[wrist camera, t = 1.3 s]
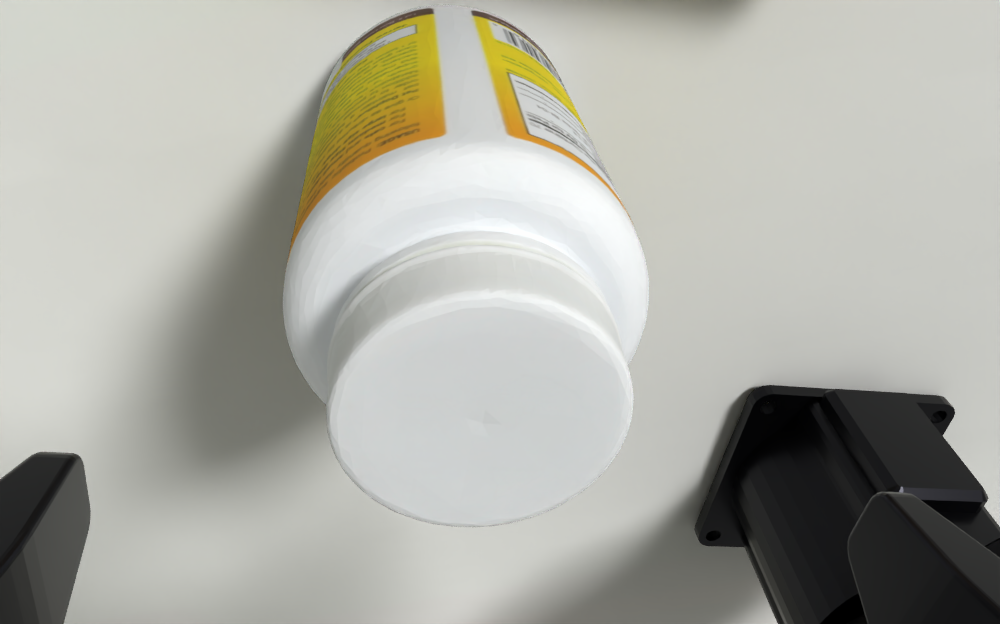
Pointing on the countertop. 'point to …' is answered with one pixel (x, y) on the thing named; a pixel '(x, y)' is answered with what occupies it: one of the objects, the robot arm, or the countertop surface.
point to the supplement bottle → (462, 275)
